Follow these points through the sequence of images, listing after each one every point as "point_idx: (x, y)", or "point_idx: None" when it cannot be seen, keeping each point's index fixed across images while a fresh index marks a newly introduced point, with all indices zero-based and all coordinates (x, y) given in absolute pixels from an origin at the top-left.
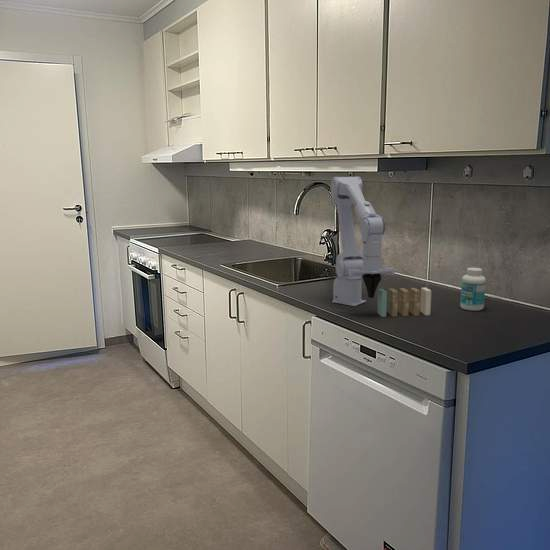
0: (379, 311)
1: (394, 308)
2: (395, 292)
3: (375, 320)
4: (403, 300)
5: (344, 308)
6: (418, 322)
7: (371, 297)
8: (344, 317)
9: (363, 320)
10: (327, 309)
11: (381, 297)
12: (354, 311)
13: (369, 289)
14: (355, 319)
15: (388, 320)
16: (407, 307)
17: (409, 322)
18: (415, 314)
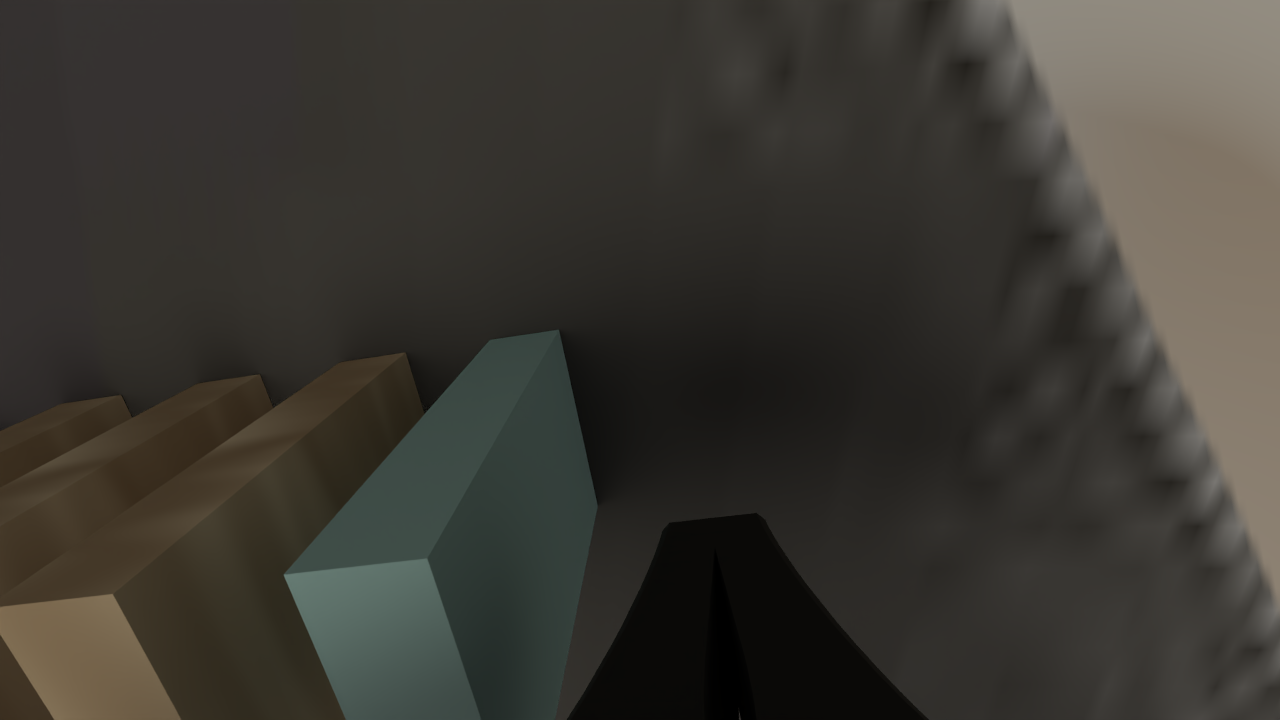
0: (571, 440)
1: (321, 400)
2: (67, 590)
3: (663, 132)
4: (81, 513)
5: (989, 682)
6: (19, 44)
7: (721, 520)
8: (1115, 284)
9: (853, 124)
10: (1231, 647)
11: (486, 502)
12: (890, 565)
13: (834, 645)
14: (970, 178)
15: (465, 140)
16: (114, 435)
17: (150, 37)
18: (95, 403)
